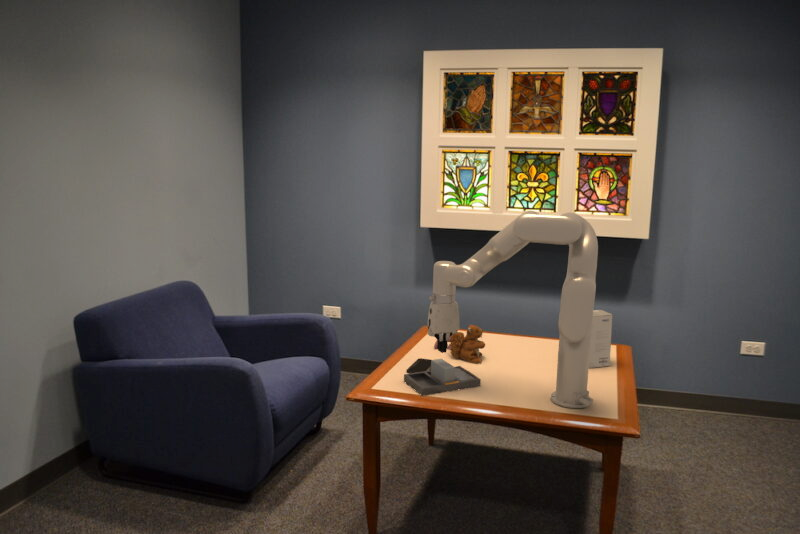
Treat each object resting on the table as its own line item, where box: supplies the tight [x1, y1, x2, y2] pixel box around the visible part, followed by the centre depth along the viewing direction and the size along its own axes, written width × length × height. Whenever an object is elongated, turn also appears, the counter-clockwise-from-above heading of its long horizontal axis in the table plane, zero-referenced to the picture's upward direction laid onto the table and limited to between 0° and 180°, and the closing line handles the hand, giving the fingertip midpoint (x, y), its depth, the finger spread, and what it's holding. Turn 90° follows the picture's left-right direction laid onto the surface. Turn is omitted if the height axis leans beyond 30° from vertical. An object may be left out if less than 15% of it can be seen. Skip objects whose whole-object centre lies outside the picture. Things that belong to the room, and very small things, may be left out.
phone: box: [405, 358, 432, 374], centre depth 226 cm, size 8×1×15 cm
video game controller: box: [433, 337, 451, 350], centre depth 247 cm, size 10×5×7 cm, turn 60°
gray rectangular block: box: [430, 358, 456, 384], centre depth 210 cm, size 10×4×6 cm, turn 24°
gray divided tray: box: [403, 365, 481, 397], centre depth 210 cm, size 14×22×3 cm, turn 115°
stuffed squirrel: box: [449, 324, 486, 364], centre depth 236 cm, size 10×14×13 cm
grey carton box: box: [589, 309, 614, 369], centre depth 229 cm, size 16×8×20 cm, turn 105°
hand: (442, 351), depth 209 cm, fingers closed
